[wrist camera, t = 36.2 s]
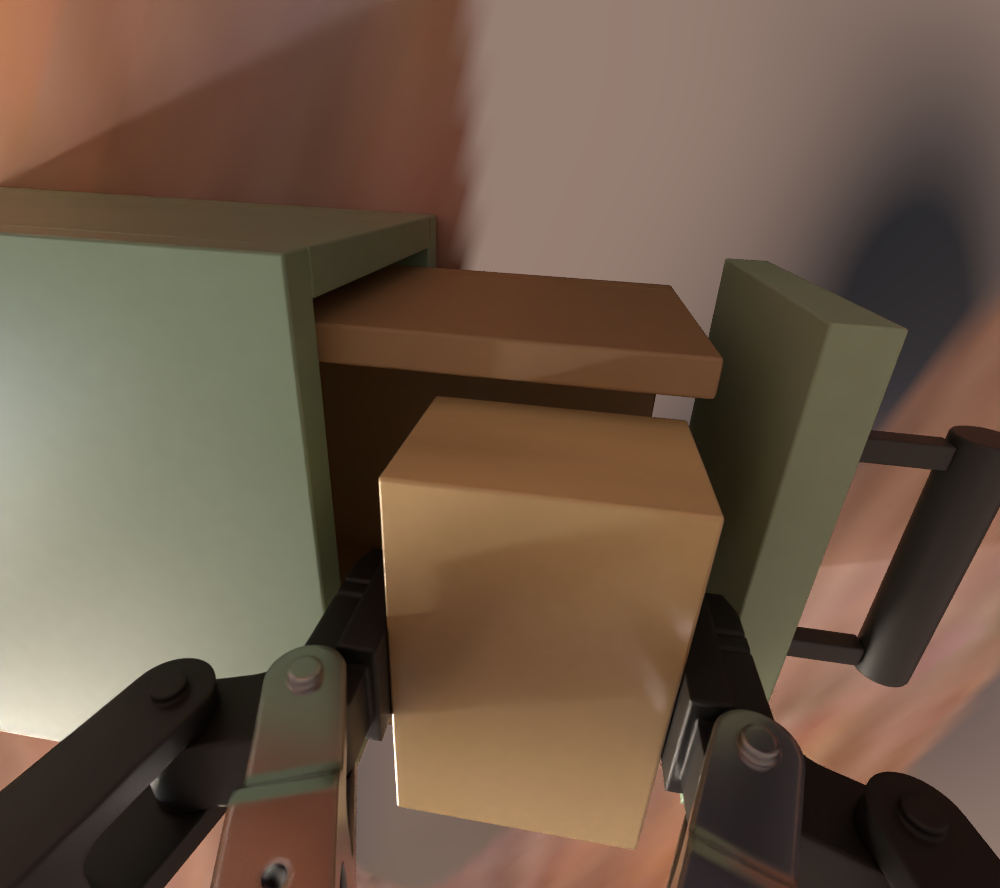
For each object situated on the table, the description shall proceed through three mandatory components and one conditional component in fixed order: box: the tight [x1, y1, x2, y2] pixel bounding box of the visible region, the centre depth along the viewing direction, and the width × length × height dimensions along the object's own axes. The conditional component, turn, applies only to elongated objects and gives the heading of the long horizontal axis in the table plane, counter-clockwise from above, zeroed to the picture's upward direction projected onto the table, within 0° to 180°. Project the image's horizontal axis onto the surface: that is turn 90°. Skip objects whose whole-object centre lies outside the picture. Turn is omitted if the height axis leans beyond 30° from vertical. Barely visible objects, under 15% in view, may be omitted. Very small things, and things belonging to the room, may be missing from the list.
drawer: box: [313, 259, 1000, 804], centre depth 16 cm, size 19×13×8 cm, turn 87°
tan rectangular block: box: [379, 396, 724, 850], centre depth 11 cm, size 8×5×4 cm, turn 177°
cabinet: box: [0, 187, 436, 766], centre depth 17 cm, size 16×14×10 cm
